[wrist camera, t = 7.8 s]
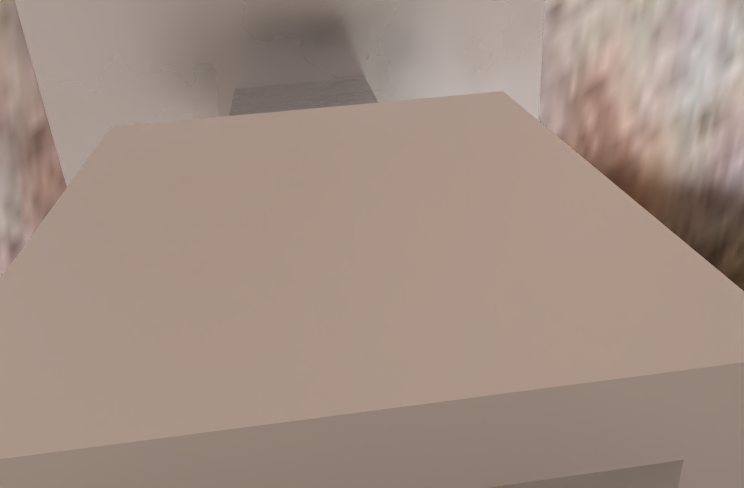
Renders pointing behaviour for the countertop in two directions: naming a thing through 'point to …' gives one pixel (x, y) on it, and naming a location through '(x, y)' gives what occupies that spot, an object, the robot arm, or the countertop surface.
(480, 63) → the duct stub
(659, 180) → the countertop surface
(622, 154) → the countertop surface
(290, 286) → the square tube sleeve
